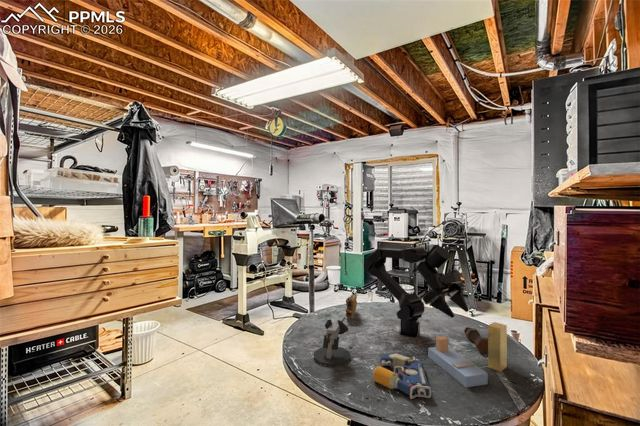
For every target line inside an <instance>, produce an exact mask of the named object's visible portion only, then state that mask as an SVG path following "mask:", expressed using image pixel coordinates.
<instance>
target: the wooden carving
mask: <svg viewBox="0 0 640 426" xmlns="http://www.w3.org/2000/svg"><path fill="white" fill-rule="evenodd" d="M357 296H358V295H357V294H355V293H353V294H351V295H350V296H348V297H347V298H346V299H345V304H346V305H345V306H346V308H345V318H350V319H353V318H354V317H355V313H356V310H357V303H358V301H357ZM353 316H354V317H353Z"/></svg>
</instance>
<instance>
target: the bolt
mask: <svg viewBox="0 0 640 426" xmlns="http://www.w3.org/2000/svg"><path fill="white" fill-rule="evenodd" d="M463 332H464V335H465V336H466V338H467V340H468V341H469V342H473V343H474V346H475V348H476V350H477V351H478V352H479V353H480V354H484V355H488V337H482V336H481V334H480V332H479V331H478V329H476V328H472V327H468V326H467V327H465V328H464V330H463Z"/></svg>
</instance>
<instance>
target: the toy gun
mask: <svg viewBox="0 0 640 426" xmlns="http://www.w3.org/2000/svg"><path fill="white" fill-rule="evenodd" d="M380 364H381V365H378V366H376V367H375V368H374V369H373V371H372V372H373V373H372V379H373V381H374V382H376V383H377V384H378V385H381V386H384V387H385V388H388V389H389V390H396V389H398V390H400V391H401V392H402V393H404V394H406V395H408V396H409V398H410V399H411V400H413V399H414V398H416V397H418V398H426V399H430V398H431V397H432V388H431V386H429V382H428V379H427V377H426V373H425V371H424V369H425V368H424V363H423V361H422V360H420V359H418V358H416V357H415V356H411V357H409V356H405V355H404V354H403V355H402V354H401V353H396V352H389V353H384V354H381V355H380ZM383 366H384V367H383ZM385 366H386V367H389V368H391V369H393V371H391V370H390V369H388V368H385ZM413 394H414V395H413Z"/></svg>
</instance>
